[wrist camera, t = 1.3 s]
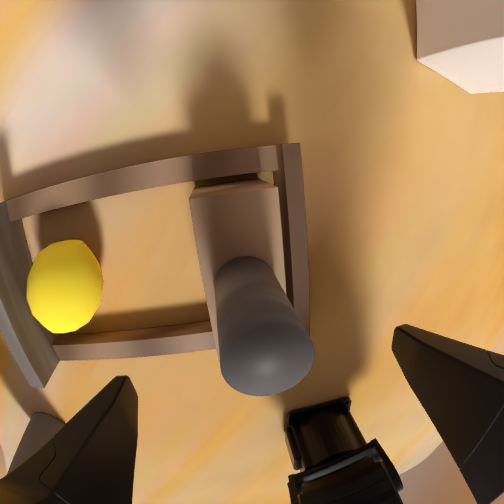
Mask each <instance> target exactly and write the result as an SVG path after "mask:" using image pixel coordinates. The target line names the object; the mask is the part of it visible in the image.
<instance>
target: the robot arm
mask: <svg viewBox="0 0 504 504" xmlns="http://www.w3.org/2000/svg"><path fill="white" fill-rule="evenodd" d="M392 351H393V354H394V356H395V357H396V359H397V361H398V363H399V365H400V367H401V369H402V371H403V374H404V376H405V378H406V380H407V381H408V383H409V385H410V387H411V388H412V390H413V392H414V393H415V395H416V396H417V398H418V400H419V401H420V403H421V404H422V406H423V408H424V409H425V411H426V412H427V414H428V416H429V417H430V419H431V421H432V422H433V424H434V426H435V427H436V429H437V431H438V432H439V434H440V436H441V438H442V439H443V441H444V443H445V444H446V446H447V448H448V450H449V451H450V453H451V455H452V457H453V458H454V460H455V462H456V464H457V466H458V467H459V468H460V471H461V473H462V474H463V477H464V479H465V481H466V483H467V484H468V486H469V488H470V490H471V492H472V494H473V495H474V498H475V500H476V502H477V504H490V503H492V502H493V501H494V500H495V499H496V498H498V497H499V496H500V495H501V494H502V493H503V492H504V355H501V354H498V353H494V352H491V351H488V350H487V351H486V350H485V349H481V348H478V347H475V346H472V345H469V344H466V343H463V342H459V341H456V340H453V339H450V338H447V337H444V336H441V335H438V334H435V333H432V332H429V331H426V330H423V329H420V328H417V327H414V326H410V325H407V324H403V325H400V326H397V327H396V328H395V330H394V335H393V341H392ZM350 406H351V400H350V398H349V397H345V398H342V399H338V400H335V401H331V402H327V403H324V404H320V405H316V406H312V407H308V408H304V409H300V410H295V411H291V412H290V413H288V427H286V429H285V441H286V445H287V448H288V451H289V455H290V458H291V461H292V465H293V468H294V469H295V470H300V471H301V472H300V473H297V474H292V475H289V476H288V478H289V482H288V488H289V493H290V499H291V504H403V502H402V500H401V498H400V496H399V494H398V492H399V491H401V490H403V484H402V482H401V479H400V477H399V475H398V472H397V471H396V469H395V467H394V465H393V464H392V462H391V461H390V459H389V458H388V456H387V455H386V453H385V452H384V450H383V449H382V447H381V446H380V444H379V443H378V441H377V440H376V438H375V439H373V440H371V441H370V442H369V443H366V441H365V439H364V437H363V435H362V434H361V432H360V430H359V428H358V426H357V424H356V422H355V421H354V419H353V417H352V415H351V413H350ZM137 438H138V396H137V393H136V390H135V388H134V386H133V384H132V382H131V380H130V378H129V377H128V376H126V375H125V376H116V377H115V378H113V379H112V380H111V381H110V382H109V383H108V384H107V385H106V386H105V387H104V388H103V389H102V390H101V391H100V392H99V393H98V394H97V395H96V396H95V397H94V398H93V399H91V400H90V401H89V402H88V403H87V404H86V405H85V406H84V407H83V408H82V409H81V410H80V411H79V412H78V413H77V414H76V415H75V416H74V417H73V418H72V419H71V420H69V421H68V422H67V423H66V424H65V425H64V426H63V427H62V428H61V429H60V430H59V431H58V432H57V433H56V434H55V435H54V436H53V437H52V438H51V439H50V440H49V441H47V442H46V443H45V444H44V445H43V446H42V447H41V448H40V449H39V450H38V451H37V452H35V453H34V454H33V455H32V456H31V457H29V458H28V459H27V460H26V461H24V462H23V463H22V464H20V465H19V466H18V467H17V468H15V469H14V470H13V471H11V472H10V473H9V474H7V475H6V476H5V477H3V478H2V479H0V504H132V495H133V481H134V469H135V458H136V449H137Z"/></svg>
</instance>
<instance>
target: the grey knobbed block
mask: <svg viewBox="0 0 504 504" xmlns="http://www.w3.org/2000/svg"><path fill="white" fill-rule="evenodd" d="M189 202H190V209H191V215H192V222H193V228H194V234H195V240H196V246H197V252H198V258H199V263H200V269H201V275H202V280H203V285H204V291H205V296H206V301H207V306H208V311H209V316H210V321H211V326H212V330H213V335H214V340H215V345H216V349H217V354H218V358H219V362H220V367H221V372H222V375H223V377H224V379H225V381H226V382H227V383H228V384H229V385H230V386H231V387H232V388H234V389H235V390H237V391H239V392H241V393H244V394H247V395H253V396H268V395H274V394H278V393H281V392H284V391H286V390H288V389H290V388H292V387H294V386H295V385H296V384H298V383H299V382H300V381H301V380H302V379H303V378H304V377H305V376H306V375H307V374H308V372H309V371H310V369H311V367H312V365H313V362H314V356H315V351H314V346H313V343H312V341H311V339H310V337H309V336H308V334H307V332H306V330H305V328H304V326H303V325H302V323H301V321H300V319H299V317H298V316H297V314H296V312H295V310H294V308H293V306H292V305H291V303H290V301H289V299H288V297H287V296H286V282H285V268H284V254H283V241H282V228H281V216H280V205H279V193H278V187H276V186H274V185H272V184H269V183H267V182H265V181H263V180H260V179H253V180H245V181H237V182H229V183H222V184H214V185H207V186H201V187H195V188H194V190H193V192H192V194H191V196H190V198H189Z"/></svg>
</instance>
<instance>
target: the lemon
mask: <svg viewBox="0 0 504 504" xmlns="http://www.w3.org/2000/svg"><path fill="white" fill-rule="evenodd" d="M103 282H104V281H103V277H102V272H101V267H100V264H99V262H98V261H97V259H96V257H95V256H94V254H93V253H92V251H91V250H90V249H89V248H88V246H87V245H86V244H85V243H84V242H83V241H81V240H64V241H60V242H56V243H52V244H50V245H49V246H47V247H46V248H45V249H43V250H42V251H41V252H39V253H38V254H37V256H36V258H35V261H34V263H33V265H32V268H31V270H30V273H29V275H28V278H27V297H26V298H27V301H28V304H29V307H30V309H31V312H32V315H33V316H34V317H35V318H36V319H37V320H38V321H39V322H40V323H41V324H42V325H43V326H44V327H45V328H47V329H48V330H49V331H51V332H52V333H67V332H72V331H76V330H77V329H79V328H80V327H82V326H84V325H85V324H87V323H88V322H89V321H90V320H91V318H92V316H93V315H94V313H95V312H96V310H97V309H98V307H99V305H100V303H101V301H102V291H103Z"/></svg>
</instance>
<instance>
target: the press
mask: <svg viewBox="0 0 504 504" xmlns="http://www.w3.org/2000/svg"><path fill="white" fill-rule="evenodd" d="M265 171H273V175H274V185H275V186H276V187H278V193H279V205H280V216H281V228H282V241H283V254H284V268H285V282H286V296H287V297H288V299H289V301H290V303H291V305H292V306H293V308H294V310H295V312H296V314H297V316H298V317H299V319H300V321H301V323H302V325H303V326H304V328H305V330H306V332H307V334H308V336H309V337H310V309H309V272H308V248H307V229H306V212H305V198H304V184H303V172H302V160H301V149H300V143H291V144H280V145H271V146H260V147H250V148H240V149H231V150H223V151H215V152H208V153H201V154H194V155H188V156H182V157H176V158H170V159H164V160H159V161H153V162H148V163H143V164H138V165H133V166H128V167H124V168H119V169H115V170H110V171H106V172H102V173H98V174H94V175H90V176H86V177H82V178H78V179H75V180H71V181H67V182H64V183H60V184H57V185H53V186H50V187H47V188H43V189H40V190H37V191H34V192H31V193H28V194H25V195H22V196H19V197H16V198H13V199H10V200H7V201H4V202H1V203H0V331H1V333H2V335H3V337H4V339H5V341H6V343H7V345H8V347H9V349H10V351H11V353H12V355H13V357H14V359H15V361H16V363H17V364H18V366H19V368H20V370H21V372H22V373H23V375H24V377H25V378H26V380H27V382H28V383H29V385H30V387H37V388H45V386H46V384H47V382H48V381H49V379H50V377H51V375H52V373H53V371H54V370H55V368H56V366H57V364H58V363H59V361H60V360H99V359H119V358H134V357H147V356H158V355H168V354H178V353H186V352H195V351H203V350H210V349H216V345H215V340H214V335H213V330H212V326H211V321H204V322H196V323H189V324H181V325H173V326H164V327H155V328H146V329H137V330H126V331H115V332H103V333H90V334H76V335H59V334H58V333H52V332H51V331H49V330H48V329H47V328H45V327H44V326H43V325H42V324H41V323H40V322H39V321H38V320H37V319H36V318H35V317H34V316H33V315H32V312H31V309H30V307H29V304H28V301H27V298H26V297H27V278H28V275H29V273H30V270H31V268H32V265H33V263H32V260H31V256H30V253H29V249H28V245H27V241H26V237H25V233H24V229H23V225H22V220H21V218H25V217H28V216H32V215H35V214H39V213H42V212H46V211H50V210H54V209H57V208H61V207H65V206H69V205H73V204H77V203H82V202H86V201H90V200H94V199H99V198H103V197H108V196H113V195H117V194H122V193H127V192H132V191H137V190H143V189H148V188H153V187H159V186H165V185H170V184H176V183H183V182H189V181H195V180H202V179H209V178H216V177H223V176H231V175H239V174H247V173H256V172H265Z"/></svg>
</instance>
